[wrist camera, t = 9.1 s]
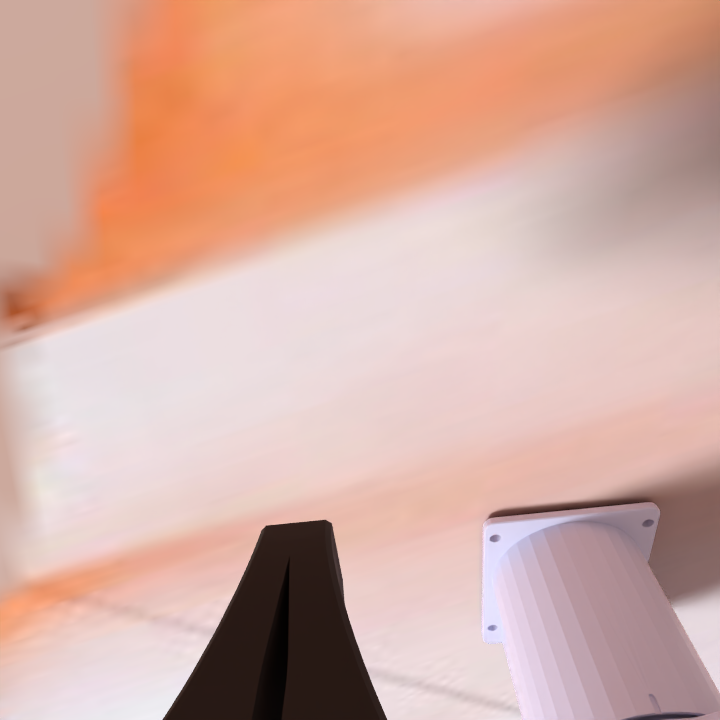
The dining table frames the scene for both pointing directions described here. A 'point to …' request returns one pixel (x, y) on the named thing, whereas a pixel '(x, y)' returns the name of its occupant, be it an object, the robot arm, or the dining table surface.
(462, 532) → the dining table surface
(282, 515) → the dining table surface
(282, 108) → the dining table surface
